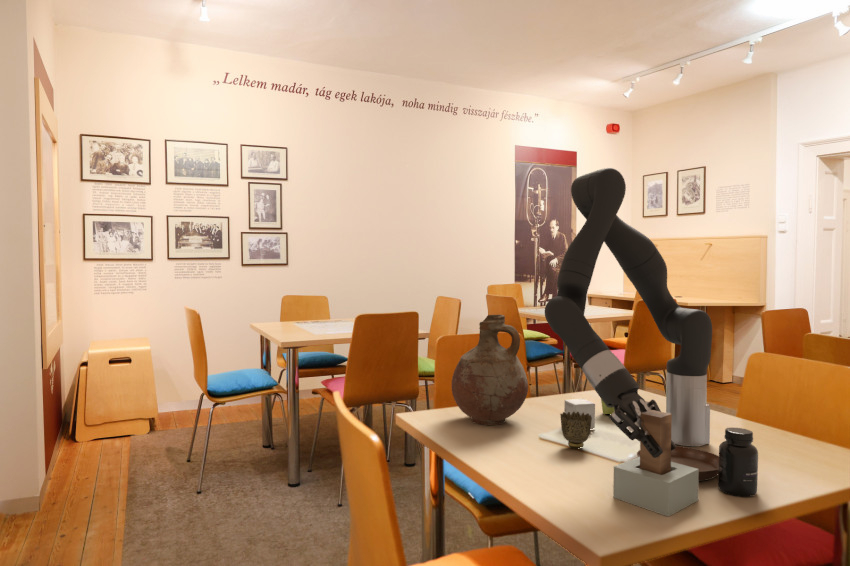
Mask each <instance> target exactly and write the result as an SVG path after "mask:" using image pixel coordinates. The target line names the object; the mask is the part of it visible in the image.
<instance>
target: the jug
mask: <svg viewBox="0 0 850 566" xmlns="http://www.w3.org/2000/svg"><path fill="white" fill-rule="evenodd" d="M505 322H506V316H505V314H504V315H503V314H488V315H487V316H486V317H485V318H484V319H483V320H482V321H480V322H479V323H478V325H479V328H478V329H479V333H478V334H479V335H478V336H479V339H478V343H477V345H475V347H473V348H470V349H469V351H467V352H466V353H464V354H462V355H461V357H460V359H459V361H458V363H457V364H456V366H455V368H454V371H453V374H452V378H451V392H452V396H453V399H454V401H455V404H456V406H457V407H458V408H459V409H460V411H461V412H462V413H463V414H465V415H466V416H468V417H469V418H471V421H472V422H473V423H475V424H477V425H483V426H497V425H498V426H499V425H502V424H505V422H506V419H508V418H510V417H511V416H513V415H514V414H515V413H516V412H518V411H519V409H521V407H522V406H523V404H524V403H525V401H526V399H527V395H528V393H529V381H528V378H527V374H526V370H525V368H524V365H523V364H522V363H521V361H520V358H519V357H518V352H519V349H520V345H521V337H520V334H519V331H518V330H517V328H515V327H514V326H512V325H509V324H506V323H505ZM499 332H501V333H502V332H503V333H506V334H509V336H510V338H511V343H510V345H509V347H507V348H506V347H504V346H502V345H501V344H500V342H499V337H498V334H499Z"/></svg>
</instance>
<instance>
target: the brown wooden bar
mask: <svg viewBox="0 0 850 566" xmlns="http://www.w3.org/2000/svg"><path fill="white" fill-rule="evenodd" d="M641 417H642V419H643V420H644V425H645V427H646V428H647V429H648V431H649V433H650V434H649V435H652V437H653V438H654V439H655V441H656V442H657V443H658V445H659V446H660V447H661V448H662V450H663V453H662V454H661V455H660V456H658V457H656V458H653V457H652V455H651V454H650V453H649V452H648V450H647V449H646V448H645V446H644V445H643V443H642V442H641V441H640V442H639V443H640V444H639V450H640V469H642V470H646V471H649V472H653V473H656V474H660V475H664V474H666V473H668V472H671V428H672V414H669V413H666V412H663V411H661V412H660V411H655V410H650V411H647V412H643V413H641ZM640 429H641V428H640Z"/></svg>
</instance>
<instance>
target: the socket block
mask: <svg viewBox="0 0 850 566" xmlns="http://www.w3.org/2000/svg"><path fill="white" fill-rule="evenodd" d="M698 480H699V469H697V468H693V467H689V466H685V465H682V464H678V463H674V462H671V472H668V473H666V474H664V475H660V474H656V473H653V472H649V471H646V470H642V469H640V457H638V456H637V457H635V458H631V459H629V460H627V461H625V462H622V463H620V464H617V465H614V466H613V485H612V487H613V490H612V491H613V492H612V493H613V496H612V497H613V498H614V499H615V500H619V501H622V502H625V503H629V504H631V505H634V506H636V507H640V508H643V509H646V510H648V511H650V512H651V511H652V512H655V513H657V514H659V515H663V516H664V517H665V516H666V517H670V516H672V515H674V514H676V513H677V512H680V511H681V510H684V509H685V508H687V507H689V506H691V505H693V504H694V503H696V502H698V501H699V481H698Z"/></svg>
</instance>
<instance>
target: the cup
mask: <svg viewBox="0 0 850 566" xmlns="http://www.w3.org/2000/svg"><path fill="white" fill-rule="evenodd" d="M559 415H560V425H561V431H562V435H563V438H564V439H565V440H566V441H567V446H568V447H569V448H571V449H573V450H579V449H578V448H580V447H583V448H584V445H585V444H584V442H586V441H588V439H589V437H590V433H591V430H590V429H591V421H592V417H591V415H590V416H589V413H587V414H586V415H584V412H583V413H582V415H580V414H579V412H577V413H575V412H573V413H572V414H571V415H570V412H568V414H566V413H565V412H564V411H562V413H559Z"/></svg>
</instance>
